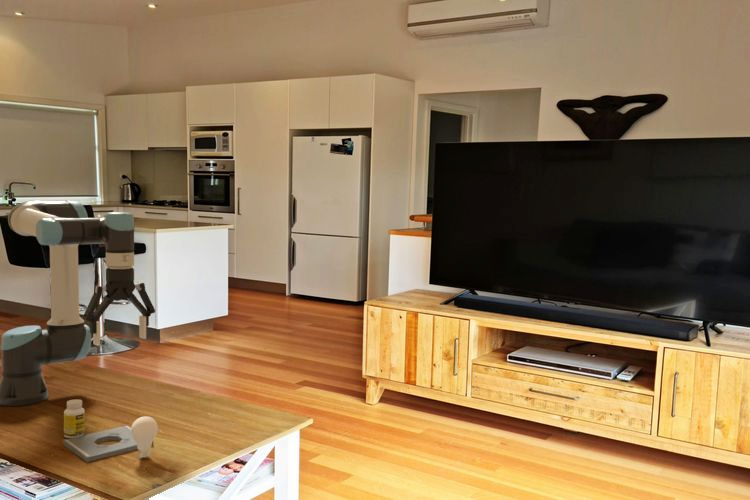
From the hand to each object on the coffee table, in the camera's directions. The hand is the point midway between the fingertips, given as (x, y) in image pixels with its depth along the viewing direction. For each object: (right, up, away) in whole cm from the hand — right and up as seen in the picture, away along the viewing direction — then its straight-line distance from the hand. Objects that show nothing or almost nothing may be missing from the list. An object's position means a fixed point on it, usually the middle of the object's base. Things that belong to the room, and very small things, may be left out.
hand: (120, 341), depth 194 cm
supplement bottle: (-12, -26, -2) cm, 29 cm away
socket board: (0, -27, -8) cm, 28 cm away
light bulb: (+13, -28, -17) cm, 35 cm away
